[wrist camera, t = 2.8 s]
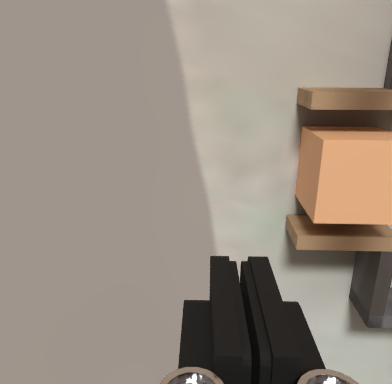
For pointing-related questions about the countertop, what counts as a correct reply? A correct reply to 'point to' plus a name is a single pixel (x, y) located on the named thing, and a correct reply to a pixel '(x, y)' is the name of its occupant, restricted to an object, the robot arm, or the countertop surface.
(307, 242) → the trap channel
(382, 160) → the block
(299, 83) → the countertop surface
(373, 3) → the countertop surface
